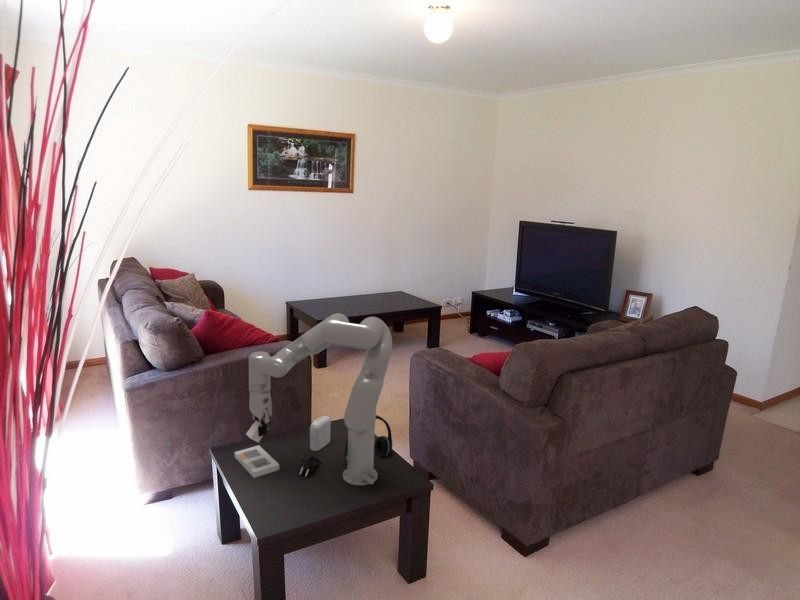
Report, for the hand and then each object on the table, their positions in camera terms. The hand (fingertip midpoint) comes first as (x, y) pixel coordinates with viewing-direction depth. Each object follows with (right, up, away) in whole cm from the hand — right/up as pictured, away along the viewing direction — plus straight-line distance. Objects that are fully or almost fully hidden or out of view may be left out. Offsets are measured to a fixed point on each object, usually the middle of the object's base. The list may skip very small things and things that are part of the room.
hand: (260, 432), depth 199 cm
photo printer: (+19, -11, +22) cm, 31 cm away
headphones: (+39, -14, +13) cm, 43 cm away
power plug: (+20, -16, +7) cm, 27 cm away
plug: (-2, -2, -2) cm, 3 cm away
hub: (-3, -13, +6) cm, 15 cm away
